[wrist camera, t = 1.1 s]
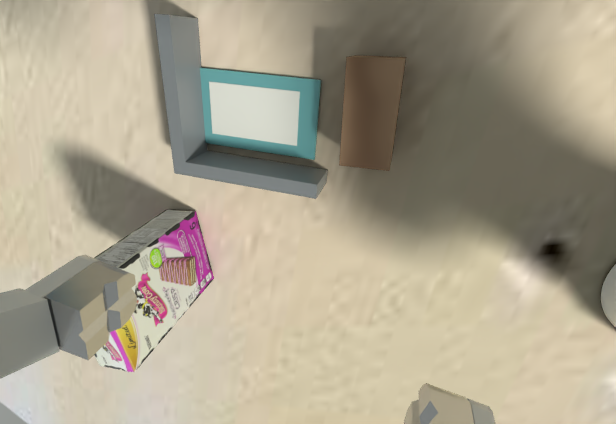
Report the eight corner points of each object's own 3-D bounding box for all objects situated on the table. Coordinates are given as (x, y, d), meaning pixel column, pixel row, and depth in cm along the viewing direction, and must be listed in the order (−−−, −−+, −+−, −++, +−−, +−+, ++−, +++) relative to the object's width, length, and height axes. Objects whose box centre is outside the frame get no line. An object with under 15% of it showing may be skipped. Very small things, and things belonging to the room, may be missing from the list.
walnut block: (406, 57, 30) (404, 59, 25) (392, 154, 34) (389, 170, 30) (355, 55, 31) (346, 57, 27) (348, 150, 35) (339, 165, 31)
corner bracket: (341, 28, 30) (331, 25, 26) (326, 182, 37) (316, 198, 33) (184, 17, 33) (154, 13, 29) (197, 160, 40) (174, 173, 36)
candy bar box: (217, 278, 48) (135, 375, 34) (187, 275, 50) (97, 367, 35) (198, 208, 43) (94, 286, 29) (166, 207, 45) (53, 282, 31)
